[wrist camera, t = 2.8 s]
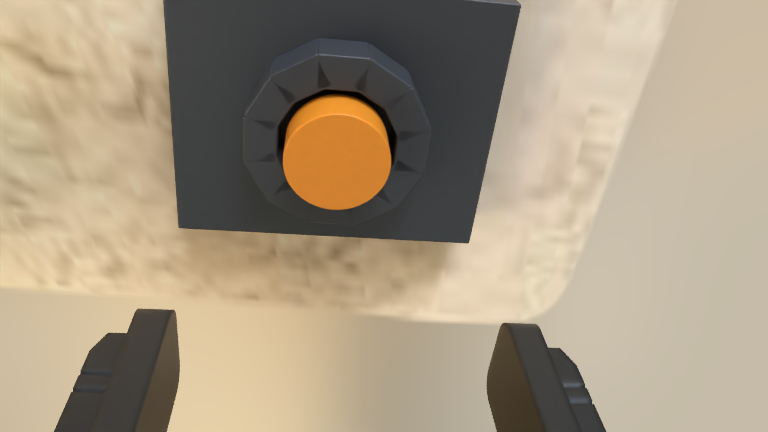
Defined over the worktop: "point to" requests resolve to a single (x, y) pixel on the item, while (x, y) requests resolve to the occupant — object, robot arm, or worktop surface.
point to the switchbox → (335, 76)
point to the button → (336, 152)
